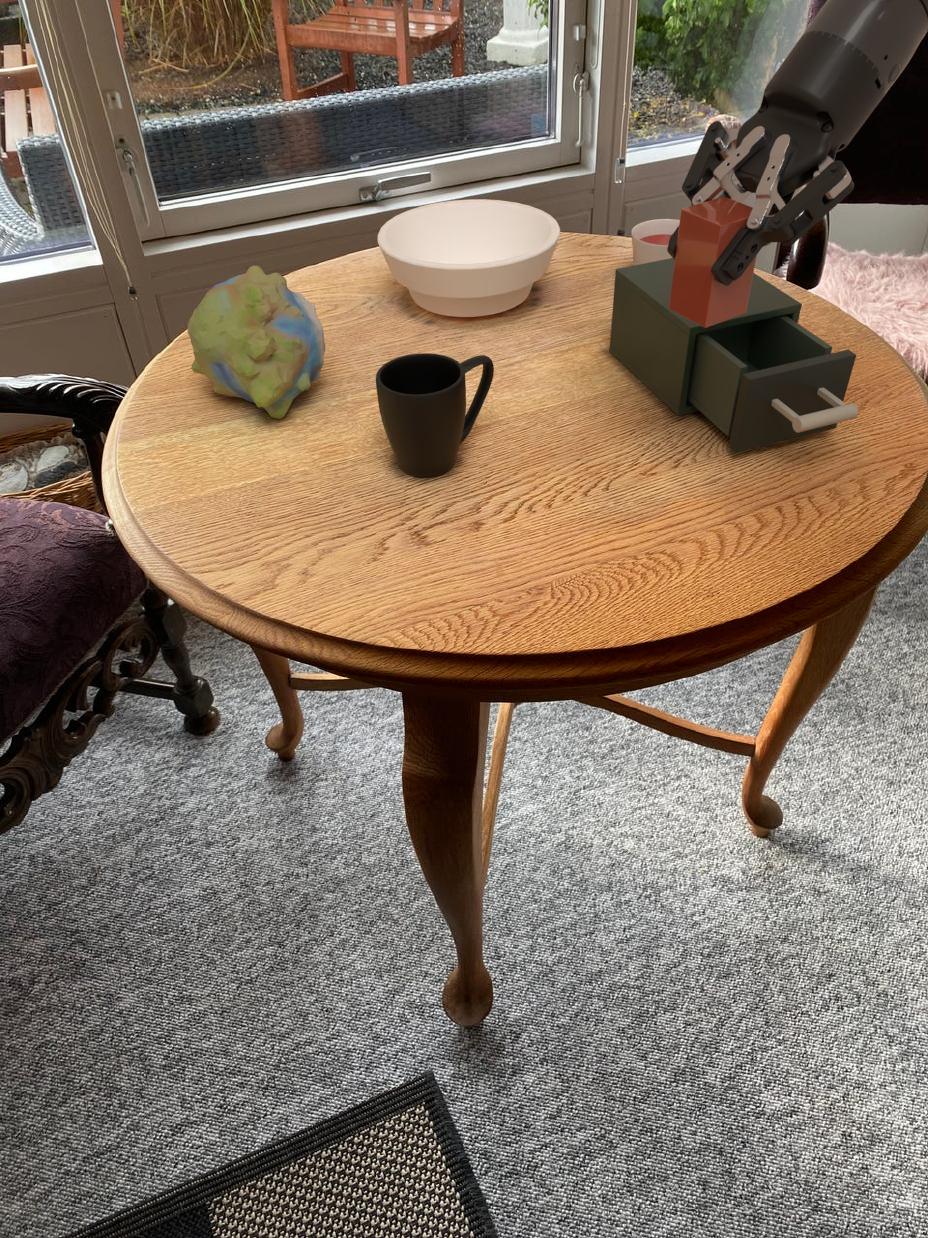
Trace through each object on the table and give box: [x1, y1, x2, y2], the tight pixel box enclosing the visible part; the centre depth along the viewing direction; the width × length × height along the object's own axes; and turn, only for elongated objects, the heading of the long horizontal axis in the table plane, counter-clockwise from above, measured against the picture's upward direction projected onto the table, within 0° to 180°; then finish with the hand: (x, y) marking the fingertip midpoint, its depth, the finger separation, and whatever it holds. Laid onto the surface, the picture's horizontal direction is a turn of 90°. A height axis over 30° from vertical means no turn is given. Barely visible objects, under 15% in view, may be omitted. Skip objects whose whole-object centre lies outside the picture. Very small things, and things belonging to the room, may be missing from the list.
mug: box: [375, 352, 495, 479], centre depth 85 cm, size 8×12×10 cm
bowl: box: [377, 198, 561, 318], centre depth 112 cm, size 22×22×8 cm
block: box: [669, 196, 758, 328], centre depth 70 cm, size 4×4×8 cm
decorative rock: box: [186, 264, 327, 419], centre depth 93 cm, size 14×16×15 cm
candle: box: [630, 218, 680, 266], centre depth 114 cm, size 9×9×6 cm
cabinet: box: [608, 258, 803, 417], centre depth 96 cm, size 16×13×10 cm
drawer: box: [687, 315, 859, 455], centre depth 87 cm, size 19×11×8 cm, turn 20°
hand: (696, 267), depth 70 cm, fingers closed on block, 4 cm apart
